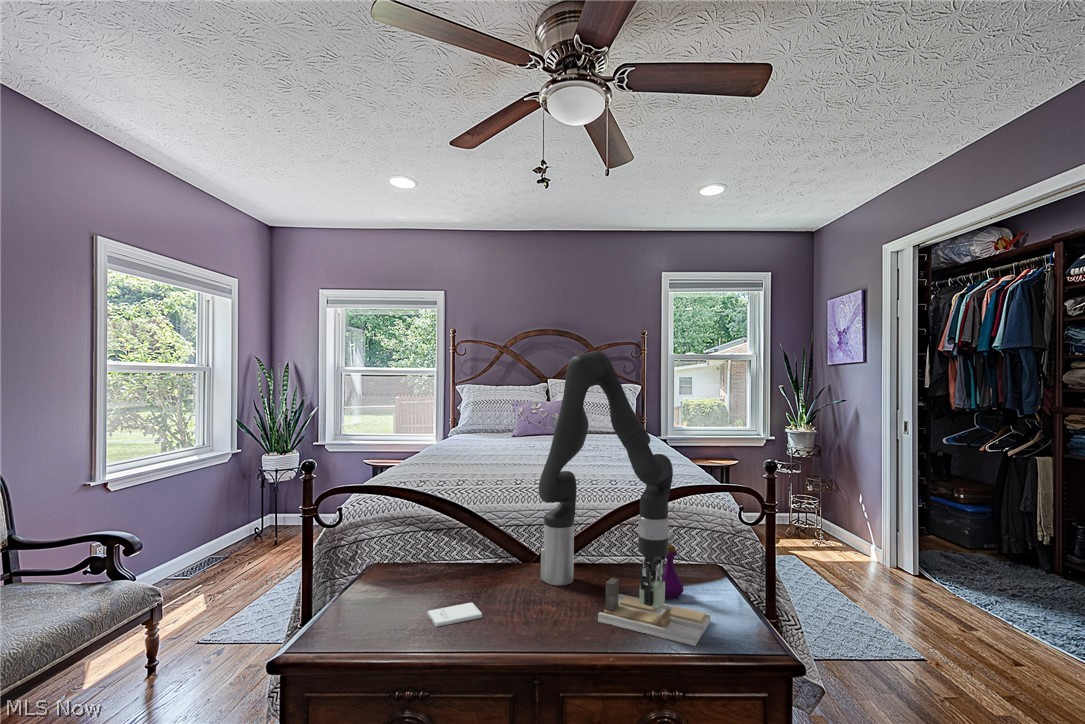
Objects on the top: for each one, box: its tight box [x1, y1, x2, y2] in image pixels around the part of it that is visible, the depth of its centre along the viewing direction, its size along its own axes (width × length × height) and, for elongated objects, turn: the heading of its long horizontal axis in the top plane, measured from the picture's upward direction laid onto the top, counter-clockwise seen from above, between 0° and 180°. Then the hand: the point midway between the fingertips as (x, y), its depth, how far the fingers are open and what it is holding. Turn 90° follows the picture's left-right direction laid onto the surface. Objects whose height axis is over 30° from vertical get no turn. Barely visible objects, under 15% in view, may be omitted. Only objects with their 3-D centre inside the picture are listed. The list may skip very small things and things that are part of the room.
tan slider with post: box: [603, 577, 670, 628], centre depth 145 cm, size 16×5×8 cm, turn 60°
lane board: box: [597, 593, 711, 647], centre depth 146 cm, size 25×15×2 cm, turn 60°
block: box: [639, 580, 666, 608], centre depth 143 cm, size 5×5×5 cm
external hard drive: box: [426, 602, 483, 628], centre depth 148 cm, size 2×8×12 cm
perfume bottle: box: [662, 532, 684, 600], centre depth 163 cm, size 8×8×18 cm
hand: (652, 600), depth 143 cm, fingers closed on block, 5 cm apart
